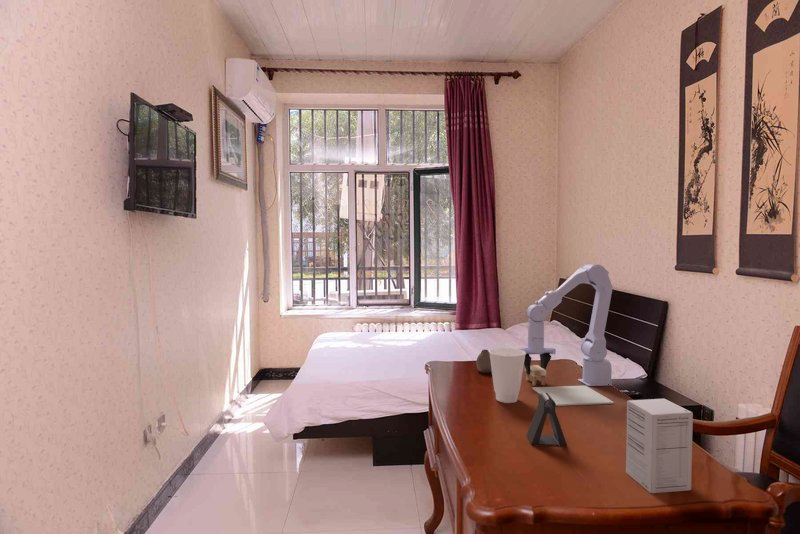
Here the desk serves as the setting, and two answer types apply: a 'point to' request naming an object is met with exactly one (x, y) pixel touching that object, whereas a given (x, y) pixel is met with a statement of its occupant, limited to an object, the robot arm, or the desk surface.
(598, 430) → the desk surface
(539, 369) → the tan plank with pegs
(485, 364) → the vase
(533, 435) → the phone stand
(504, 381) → the cup
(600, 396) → the mat
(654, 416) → the supplement box
